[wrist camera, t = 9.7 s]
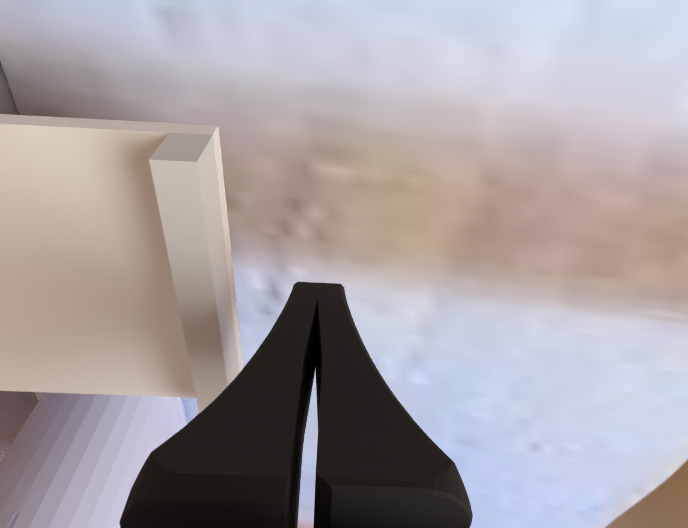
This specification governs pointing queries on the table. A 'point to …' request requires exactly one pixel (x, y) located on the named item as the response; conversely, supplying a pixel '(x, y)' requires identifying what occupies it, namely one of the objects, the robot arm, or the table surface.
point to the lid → (115, 259)
